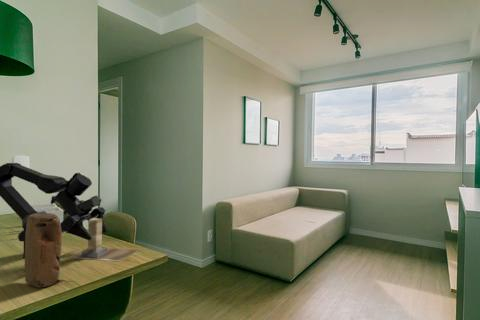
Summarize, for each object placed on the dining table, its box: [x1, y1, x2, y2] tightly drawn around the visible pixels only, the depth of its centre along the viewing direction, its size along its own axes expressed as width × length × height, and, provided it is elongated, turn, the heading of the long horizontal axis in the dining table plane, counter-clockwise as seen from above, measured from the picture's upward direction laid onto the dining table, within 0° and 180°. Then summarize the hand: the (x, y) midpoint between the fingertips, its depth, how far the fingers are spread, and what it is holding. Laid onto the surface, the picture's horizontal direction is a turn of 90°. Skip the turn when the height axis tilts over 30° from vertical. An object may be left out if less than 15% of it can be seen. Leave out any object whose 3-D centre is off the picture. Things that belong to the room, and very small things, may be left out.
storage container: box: [30, 203, 64, 223], centre depth 138 cm, size 25×11×11 cm, turn 43°
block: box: [24, 213, 63, 289], centre depth 82 cm, size 11×8×20 cm
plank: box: [68, 247, 138, 263], centre depth 102 cm, size 20×12×2 cm, turn 84°
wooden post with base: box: [81, 218, 108, 258], centre depth 100 cm, size 6×6×13 cm
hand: (98, 235), depth 100 cm, fingers open, 9 cm apart
